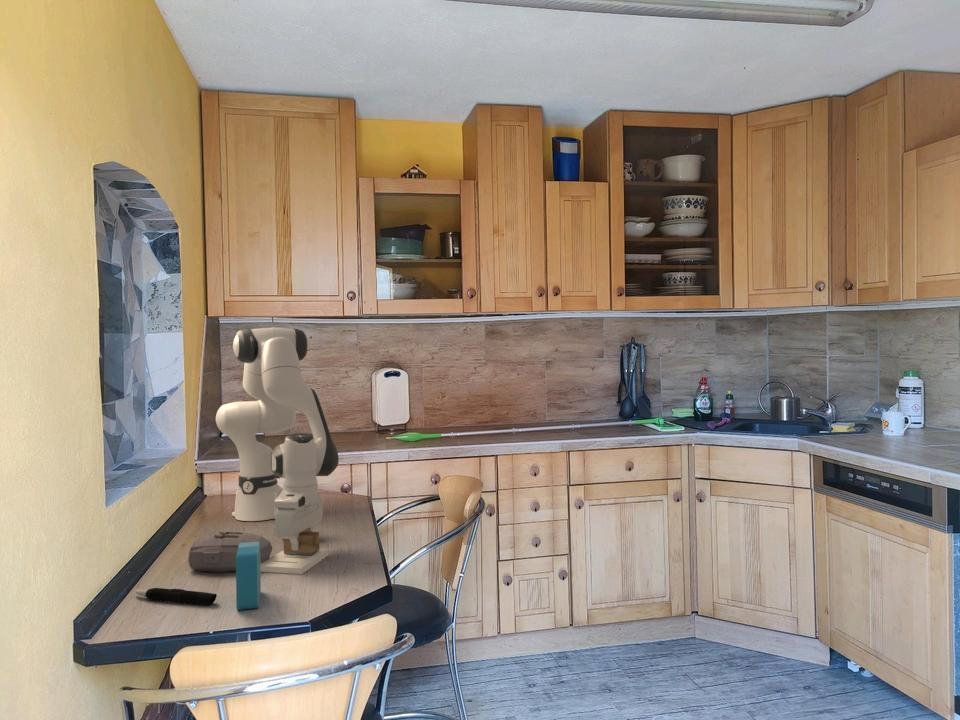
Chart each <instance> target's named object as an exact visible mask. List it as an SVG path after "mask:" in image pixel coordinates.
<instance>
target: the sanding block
mask: <svg viewBox="0 0 960 720" xmlns="http://www.w3.org/2000/svg"><path fill="white" fill-rule="evenodd" d="M298 541H299V542H300V549H298V550H292V546H291V542H290V540H289V539H284V540H283V550H284V554H299V555H313V554H314V553H316V552H317V551H319V549H320V532H319V531H312V532H311V531H302V532H301V533H299V537H298Z"/></svg>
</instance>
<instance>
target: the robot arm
mask: <svg viewBox="0 0 960 720" xmlns="http://www.w3.org/2000/svg"><path fill="white" fill-rule="evenodd" d="M308 342H309V341H308V338H307V335H306V333H305V331H303V330H301V329H298V328H286V327H272V326H271V327H262V328H261V327H260V328H252V329H251V328H244V329H243V328H242V329H239V330H238V331H237V332H236V333H235V337H234V339H233V343H232V349H233V353H234V355H235V358H236V360H238V361H239V362H241V363H244V364H243V365H244V366H243V375H242V388H243V389H244V392H245V393H247V394H248V395H249V396H251V397H253V398H255V399H256V400H248V401H247V400H246V401H245V400H243V401H232V402H229V403H225V404H222V405H220V406H219V408H218V410H217V412H216V415H215V423H216V426H217V428H218V430H219V431H220V432H221V433H222V434H224V435H225V436H227V437H228V438H229V439H230V440H231V441H232V443H233V444H234V445H235V448H236V449H237V454H238V461H239V475H238V480H237V482H238V487H239V489H237V490H236V492H235V502H234V503H235V504H234V511H232V512H231V516H232V517H234V519H236V521H237V520H238V521H244V522H260V521H267V520H273V519H275V533H276V536H277V538H278V539H281V540H282V539H289V540H290V542H291V546H292V550H298V549H300V542H299V541H298V537H299V533H301V532H302V531H311V532H313V530H314V529H313V527H314V525H316V524H318V523H320V522H321V521H322V520H323V516H324V512H323V501H322V500H323V499H322V497H321V495H320V492H319V491H318V479H317V477H328V476H330V475H331V474H332V473H333V472H334V471H335V470H336V469H337V468H338V466H339V459H340V458H339V452H338V449H337V446H336V444H335V443H334V440H333V438H332V435H331V433H330V429H329V427H328V422H327V420H326V417H325V414H324V410H323V407H322V404H321V402H320V399H319V396H318V394H317V392H316V390H314V388H311V387H309V385H308V384H307V382H306V381H305V379H304V377H303V375H302V370H301V368H302V367H301V363H300V361H302V360H304V358H305V357H306V356H307V353H308V349H309V343H308ZM296 410H297V411H299V412H301V413H303V415H305V417H306V419H307V421H308V423H309V427H310V430H311V434H309V433H304V432H296V433H291V434H289V435H287V436H286V437H285V438H284V442H283V443H281V444H278V445H276V446H275V447H274V448H272V447H270V446H269V445H267V444H265V443H262V442H261V441H258V440H257V438H256V437H257V436H256V435H257V434H269V433H272V434H273V433H280V432H283V431H288V430H290V429H291V428H293V426H294V424H295V423H296V420H297V413H296ZM278 479H284V480H283V487H281V485H279V484H278Z"/></svg>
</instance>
